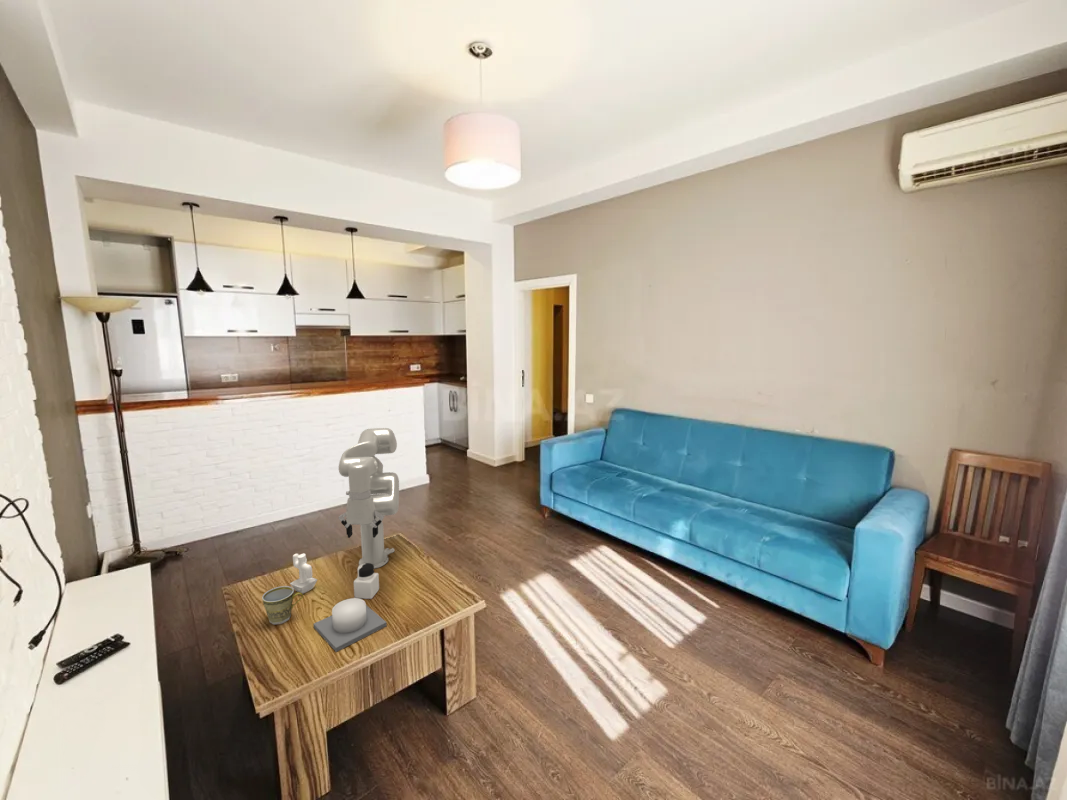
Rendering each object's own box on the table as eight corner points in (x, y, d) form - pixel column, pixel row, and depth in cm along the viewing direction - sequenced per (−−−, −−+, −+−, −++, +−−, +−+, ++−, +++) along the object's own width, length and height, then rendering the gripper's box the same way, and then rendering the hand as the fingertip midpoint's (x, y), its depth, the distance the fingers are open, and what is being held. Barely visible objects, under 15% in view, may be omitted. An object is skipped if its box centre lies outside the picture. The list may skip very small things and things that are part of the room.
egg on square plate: (362, 605, 173) (361, 587, 171) (386, 626, 160) (385, 606, 159) (313, 627, 159) (312, 608, 158) (336, 652, 147) (334, 631, 146)
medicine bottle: (379, 589, 183) (378, 561, 182) (371, 599, 176) (370, 570, 175) (362, 588, 184) (361, 560, 182) (354, 598, 177) (352, 569, 175)
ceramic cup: (260, 630, 158) (258, 603, 157) (269, 612, 168) (266, 588, 166) (301, 623, 162) (299, 598, 160) (307, 607, 171) (305, 582, 170)
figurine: (303, 597, 177) (300, 561, 175) (288, 591, 182) (285, 556, 179) (320, 588, 184) (317, 553, 181) (305, 582, 188) (302, 548, 186)
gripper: (333, 497, 170) (336, 540, 172) (379, 497, 170) (382, 540, 173) (341, 490, 177) (344, 532, 180) (385, 490, 178) (387, 531, 180)
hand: (362, 536), depth 176 cm, fingers open, 9 cm apart
